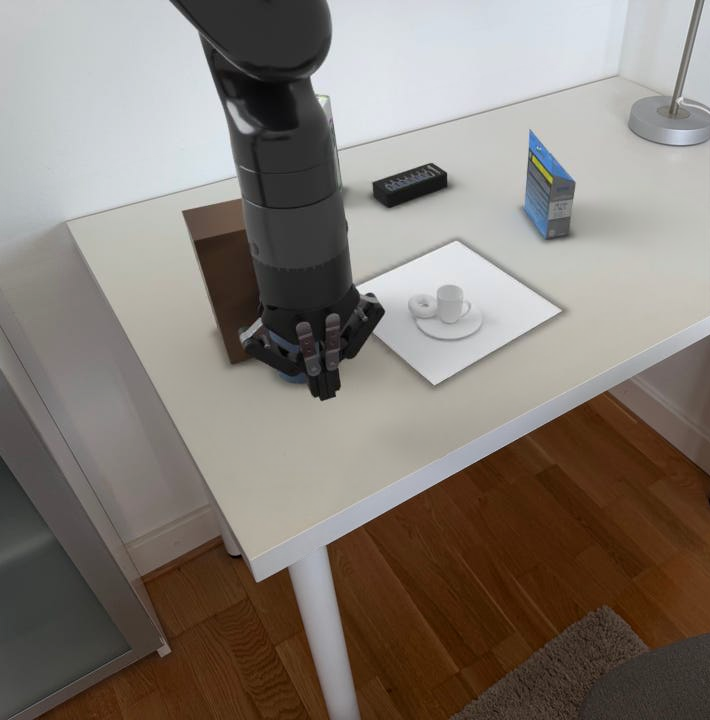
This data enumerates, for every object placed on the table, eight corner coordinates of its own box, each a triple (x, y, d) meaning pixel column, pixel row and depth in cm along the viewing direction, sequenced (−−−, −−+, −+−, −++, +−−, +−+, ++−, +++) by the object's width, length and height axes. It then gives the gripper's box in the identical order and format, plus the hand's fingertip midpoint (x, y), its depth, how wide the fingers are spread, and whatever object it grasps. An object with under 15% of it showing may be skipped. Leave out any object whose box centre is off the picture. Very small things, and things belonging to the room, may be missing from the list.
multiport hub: (372, 196, 103) (370, 182, 101) (431, 175, 108) (431, 161, 106) (388, 208, 100) (387, 194, 99) (448, 186, 105) (448, 172, 104)
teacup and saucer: (398, 313, 83) (396, 286, 80) (449, 288, 87) (449, 261, 84) (444, 351, 78) (444, 323, 75) (496, 322, 82) (498, 295, 79)
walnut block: (230, 364, 75) (193, 240, 65) (218, 332, 79) (181, 210, 68) (351, 328, 80) (336, 208, 70) (335, 300, 84) (317, 181, 73)
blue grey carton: (570, 236, 96) (581, 153, 88) (544, 240, 95) (553, 157, 87) (546, 204, 102) (554, 124, 94) (522, 208, 101) (528, 127, 93)
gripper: (362, 198, 58) (376, 350, 70) (201, 233, 54) (245, 390, 65) (396, 242, 54) (405, 397, 65) (222, 284, 49) (266, 444, 60)
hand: (325, 393), depth 65 cm, fingers closed
